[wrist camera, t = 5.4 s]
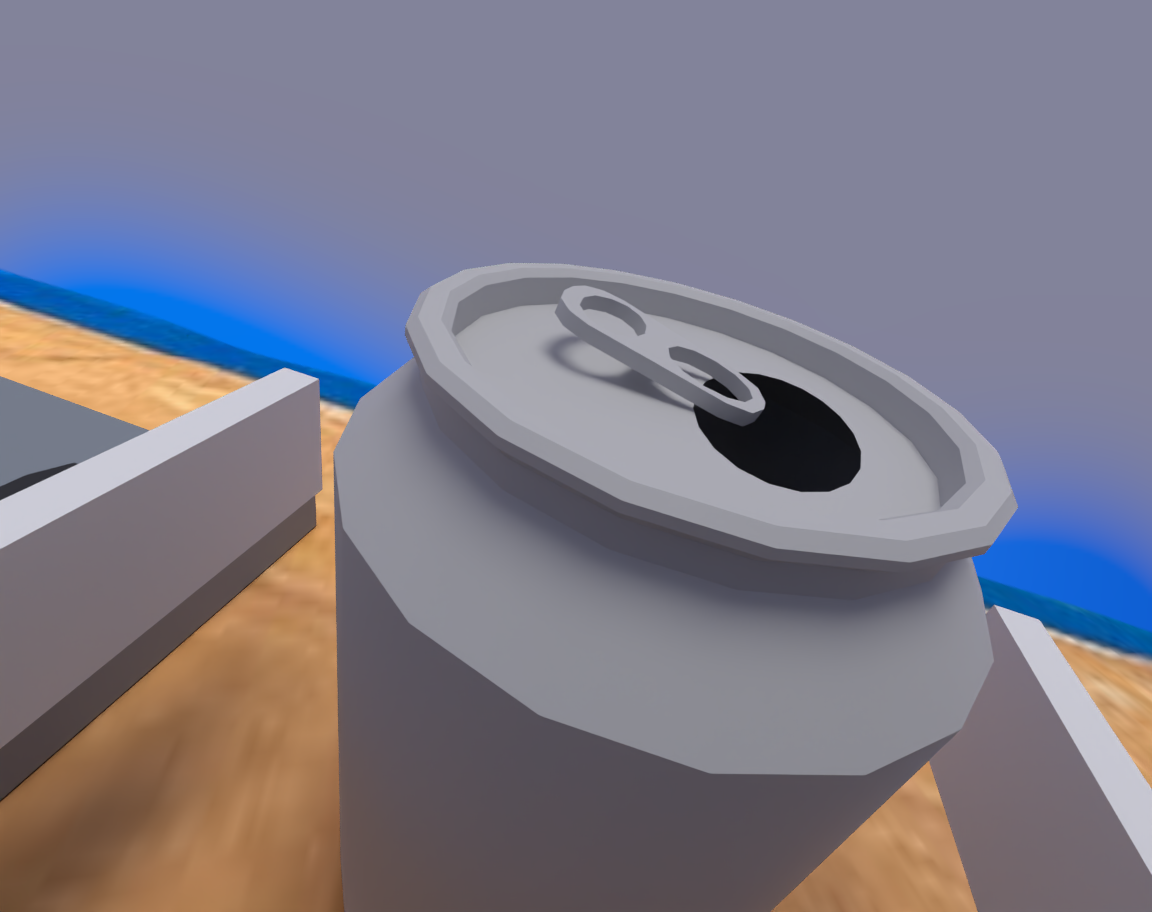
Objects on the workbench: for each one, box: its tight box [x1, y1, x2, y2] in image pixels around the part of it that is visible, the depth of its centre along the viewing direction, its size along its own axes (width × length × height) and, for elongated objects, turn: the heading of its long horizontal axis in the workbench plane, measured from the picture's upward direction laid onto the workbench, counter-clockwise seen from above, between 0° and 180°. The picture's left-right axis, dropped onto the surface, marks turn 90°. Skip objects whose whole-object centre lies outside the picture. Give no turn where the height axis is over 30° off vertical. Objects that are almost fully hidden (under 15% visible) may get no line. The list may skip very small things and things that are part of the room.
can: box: [334, 263, 1018, 912], centre depth 9 cm, size 8×8×12 cm
